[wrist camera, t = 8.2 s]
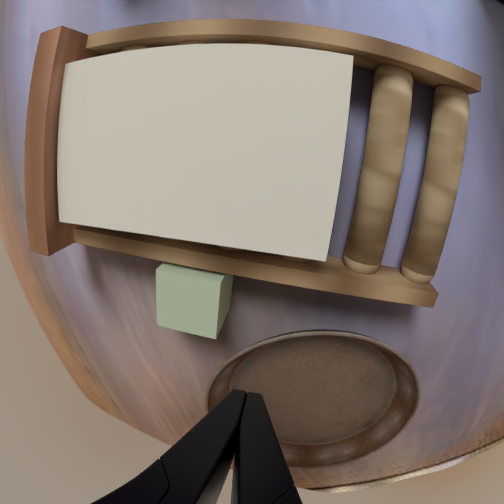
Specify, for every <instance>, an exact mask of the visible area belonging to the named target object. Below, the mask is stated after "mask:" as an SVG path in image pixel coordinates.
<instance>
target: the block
mask: <svg viewBox="0 0 504 504" xmlns="http://www.w3.org/2000/svg"><path fill="white" fill-rule="evenodd" d="M233 276H234V275H231V274H226V273H221V272H215V271H210V270H205V269H200V268H195V267H190V266H184V265H179V264H174V263H169V262H164V263H162V264H161V265H160V266H159V267H158V268H157V269H156V306H157V325H160V326H163V327H167V328H171V329H175V330H179V331H183V332H187V333H191V334H195V335H199V336H203V337H208V338H212V339H216V338H217V336H218V334H219V332H220V329H221V327H222V325H223V323H224V321H225V318H226V316H227V314H228V312H229V310H230V304H231V294H232V285H233Z"/></svg>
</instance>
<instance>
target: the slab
mask: <svg viewBox="0 0 504 504" xmlns="http://www.w3.org/2000/svg"><path fill="white" fill-rule="evenodd" d="M352 70H353V56H351V55H346V54H341V53H335V52H329V51H322V50H315V49H307V48H298V47H289V46H277V45H262V44H191V45H175V46H164V47H154V48H146V49H138V50H131V51H124V52H118V53H113V54H107V55H102V56H97V57H92V58H88V59H83V60H79V61H75V62H71V63H67V64H65V70H64V76H63V84H62V92H61V101H60V112H59V126H58V147H57V188H58V210H59V222H65V223H72V224H79V225H85V226H92V227H99V228H106V229H112V230H119V231H126V232H133V233H139V234H146V235H153V236H159V237H166V238H173V239H180V240H186V241H193V242H200V243H206V244H213V245H220V246H226V247H233V248H240V249H246V250H253V251H260V252H266V253H273V254H279V255H286V256H293V257H299V258H306V259H313V260H319V261H326V258H327V253H328V248H329V243H330V237H331V232H332V226H333V221H334V215H335V209H336V203H337V197H338V190H339V184H340V177H341V170H342V163H343V156H344V148H345V140H346V132H347V123H348V114H349V104H350V94H351V82H352Z"/></svg>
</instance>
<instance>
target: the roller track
mask: <svg viewBox="0 0 504 504" xmlns="http://www.w3.org/2000/svg"><path fill="white" fill-rule="evenodd" d="M191 44H262V45H277V46H289V47H298V48H307V49H315V50H322V51H329V52H335V53H341V54H346V55H351V56H353V65H354V66H358V67H363V68H367V69H371V70H375V73H374V80H373V89H372V98H371V107H370V115H369V122H368V130H367V137H366V143H365V150H364V156H363V162H362V168H361V174H360V179H359V185H358V190H357V195H356V201H355V206H354V211H353V215H352V220H351V225H350V230H349V234H348V239H347V243H346V247H345V252H344V259H343V258H338V257H332V256H327V258H326V261H319V260H313V259H306V258H299V257H293V256H286V255H279V254H273V253H266V252H260V251H253V250H246V249H240V248H233V247H226V246H220V245H213V244H206V243H200V242H193V241H186V240H180V239H173V238H166V237H159V236H153V235H146V234H139V233H133V232H126V231H119V230H112V229H106V228H99V227H92V226H85V225H79V224H72V223H65V222H59V210H58V188H57V147H58V126H59V112H60V101H61V92H62V84H63V76H64V70H65V64H67V63H71V62H75V61H79V60H83V59H88V58H92V57H97V56H102V55H107V54H113V53H118V52H124V51H131V50H138V49H146V48H154V47H164V46H175V45H191ZM413 82H416V83H420V84H423V85H425V86H428V87H431V88H434V89H435V92H434V99H433V109H432V119H431V127H430V135H429V142H428V149H427V155H426V161H425V167H424V173H423V178H422V183H421V188H420V193H419V198H418V202H417V207H416V211H415V216H414V220H413V224H412V228H411V232H410V236H409V239H408V243H407V247H406V250H405V254H404V257H403V261H402V265H401V269H399V268H393V267H388V266H382V265H380V264H381V260H382V257H383V253H384V249H385V245H386V241H387V238H388V234H389V229H390V225H391V221H392V217H393V212H394V208H395V203H396V199H397V194H398V189H399V184H400V179H401V173H402V168H403V162H404V156H405V150H406V143H407V136H408V129H409V121H410V113H411V104H412V93H413ZM477 92H481V76H479V75H477V74H475V73H473V72H471V71H468V70H466V69H464V68H462V67H459V66H457V65H455V64H452V63H450V62H447V61H445V60H442V59H440V58H437V57H435V56H432V55H429V54H427V53H424V52H421V51H418V50H415V49H412V48H409V47H406V46H403V45H399V44H396V43H393V42H389V41H385V40H382V39H378V38H374V37H370V36H366V35H362V34H357V33H353V32H348V31H343V30H338V29H333V28H327V27H321V26H314V25H307V24H299V23H291V22H281V21H269V20H251V19H200V20H183V21H170V22H160V23H152V24H144V25H137V26H131V27H125V28H119V29H114V30H109V31H104V32H99V33H95V34H91V35H87V34H84V33H81V32H78V31H76V30H73V29H70V28H67V27H64V26H59V27H57V28H54V29H51V30H48V31H45V32H43V33H41V34H40V38H39V42H38V47H37V52H36V56H35V61H34V67H33V73H32V79H31V85H30V92H29V100H28V110H27V121H26V135H25V203H26V217H27V229H28V238H29V247H30V251H32V252H36V253H39V254H43V255H46V256H50V255H52V254H54V253H55V252H57V251H59V250H61V249H63V248H65V247H67V246H69V245H70V244H72V243H74V242H75V243H79V244H84V245H88V246H93V247H97V248H102V249H107V250H111V251H116V252H121V253H126V254H130V255H135V256H140V257H145V258H150V259H154V260H159V261H164V262H169V263H174V264H179V265H184V266H190V267H195V268H200V269H205V270H210V271H215V272H221V273H226V274H231V275H237V276H242V277H247V278H253V279H258V280H264V281H270V282H275V283H281V284H287V285H292V286H298V287H304V288H310V289H316V290H321V291H327V292H334V293H340V294H346V295H352V296H358V297H364V298H371V299H377V300H384V301H390V302H397V303H404V304H410V305H417V306H424V307H431V308H433V307H434V304H435V302H436V299H437V297H438V294H439V293H438V292H437V291H436V289H435V288H434V287H433V286H432V284H431V283H430V281H431V280H432V279H433V277H434V275H435V272H436V269H437V266H438V263H439V260H440V256H441V253H442V250H443V246H444V243H445V239H446V236H447V232H448V228H449V225H450V221H451V217H452V212H453V208H454V204H455V199H456V195H457V190H458V185H459V180H460V175H461V169H462V163H463V157H464V150H465V143H466V135H467V126H468V116H469V97H468V94H473V93H477Z"/></svg>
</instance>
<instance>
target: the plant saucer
mask: <svg viewBox="0 0 504 504" xmlns="http://www.w3.org/2000/svg"><path fill="white" fill-rule="evenodd" d="M232 389H238V390H243V391H246V392H247V393H248V392H254V393H260V394H262V396H263V399H264V401H265V404H266V407H267V410H268V413H269V416H270V419H271V421H272V424H273V427H274V430H275V433H276V435H277V438H278V441H279V444H280V446H281V449H282V452H283V455H284V457H285V460H286V463H287V465H288V467H292V468H323V467H331V466H336V465H341V464H345V463H349V462H352V461H355V460H358V459H360V458H363V457H365V456H367V455H370V454H372V453H374V452H376V451H377V450H379V449H381V448H382V447H384V446H385V445H387V444H388V443H389V442H391V441H392V440H393V439H395V438H396V437H397V436H398V435H399V434H400V433H401V432H402V431H403V430H404V429H405V428H406V426H407V425H408V424H409V422H410V421H411V419H412V418H413V416H414V414H415V412H416V409H417V407H418V403H419V399H420V383H419V379H418V376H417V373H416V371H415V369H414V367H413V366H412V364H411V363H410V362H409V361H408V360H407V358H406V357H405V356H403V355H402V354H401V353H400V352H398V351H397V350H395V349H394V348H392V347H391V346H389V345H387V344H385V343H383V342H381V341H378V340H376V339H374V338H371V337H368V336H365V335H362V334H358V333H353V332H348V331H341V330H326V329H318V330H304V331H296V332H290V333H286V334H281V335H278V336H274V337H271V338H268V339H265V340H263V341H260V342H258V343H256V344H253V345H251V346H249V347H247V348H245V349H244V350H242V351H240V352H238V353H237V354H235V355H234V356H232V357H231V358H230V359H228V360H227V361H226V362H225V363H224V364H222V365H221V366H220V368H219V369H218V370H217V371H216V372H215V374H214V375H213V377H212V378H211V380H210V382H209V384H208V387H207V391H206V396H205V408H206V413H207V414H208V413H209V412H210V411H211V410H212V409H213V408H214V407H215V406H216V405H217V404H218V403H219V402H220V401H221V400H222V399H223V398H224V397H225V396H226V395H227V394H228V393H229V392H230V391H231V390H232Z"/></svg>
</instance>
